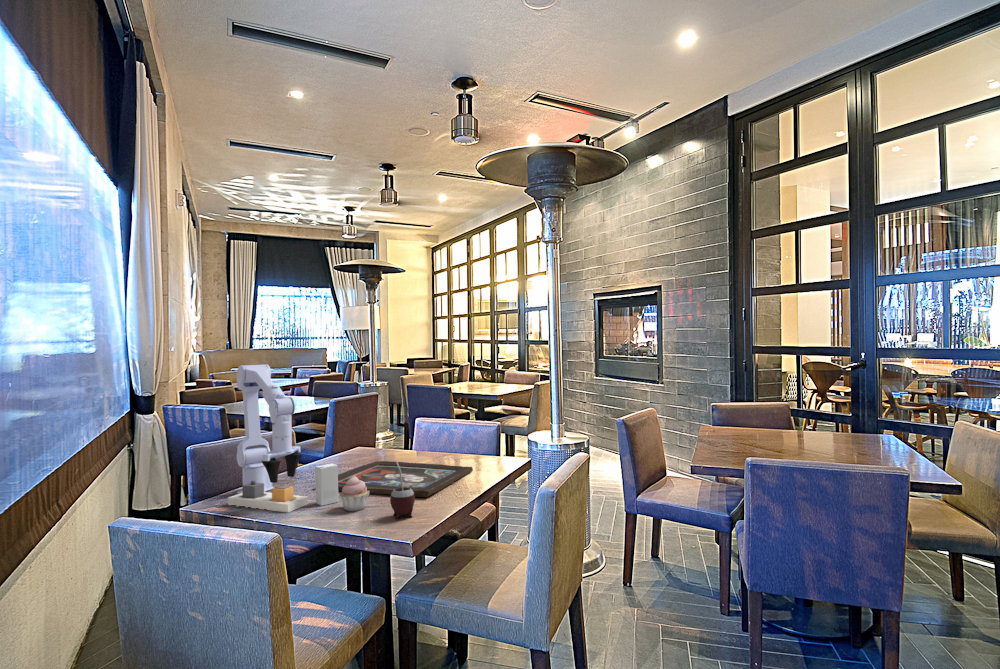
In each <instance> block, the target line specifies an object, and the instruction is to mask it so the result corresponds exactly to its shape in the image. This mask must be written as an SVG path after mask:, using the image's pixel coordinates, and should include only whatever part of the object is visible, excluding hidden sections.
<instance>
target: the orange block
mask: <svg viewBox="0 0 1000 669" xmlns="http://www.w3.org/2000/svg"><path fill="white" fill-rule="evenodd" d="M271 493H272V501H277V502H287V501H289V500H291V499H294V495H295V494H294V486H291V485H284V484H283V485H282V484H280V485H277V486H275V487H274V488H272V489H271Z"/></svg>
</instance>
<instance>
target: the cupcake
mask: <svg viewBox="0 0 1000 669" xmlns="http://www.w3.org/2000/svg"><path fill="white" fill-rule="evenodd" d="M369 495H370V493H369V491H367V487H366V485H365V483H364V482H363V481H361V480H359V479H358V478H357V477H355V476H353V477H352V478H350V479H349V480H348V481H347V482H346V485H345V486H344V487H343V489H342V491H341V492H340V493H339V492H338V497H339V498H340V499H341V502H342V505H343V506H342V507H343V509H344V510H345V511H347V512H359V511H361V510H364V509H365V507H366V505H367V501H368V498H369Z"/></svg>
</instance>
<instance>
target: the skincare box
mask: <svg viewBox="0 0 1000 669" xmlns="http://www.w3.org/2000/svg"><path fill="white" fill-rule="evenodd" d="M338 467H339V465H337V464H335V463H332V462H331V463H327V464H322V465H315V466H314V474H315V475H314V476H315V478H314V480H315V481H314V482H315V483H314V484H315V503H316V504H317V505H319V506H326V505H327V506H328V505H331V504H335V503H339V491H338V475H339V468H338Z"/></svg>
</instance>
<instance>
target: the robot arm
mask: <svg viewBox="0 0 1000 669" xmlns="http://www.w3.org/2000/svg"><path fill="white" fill-rule="evenodd" d="M235 375H236V385H237V386H236V387H237V390H239V391H241V392H242V400H243V401H242V405H243V417H244V431H245V432H244V434H245V438H244V439H243V440H242V441H240V442H239V444H237V447H236V448H237V451H236V463H237V465H238V467H240V468H242V485H245V484H248V483H251V481H256V483H264V492H268V491H272V488H275V487H274V486H273V484H275V483H276V484H277V483H278V480H279V479H278V478H279V467H280V465H281V460H277V459H278V458H281V457H284V460H285V464H286V474H287V477H289V478H290V477H291V478H294V477H295V474H296V470H297V467H298V464H299V462H300V460H301V458H302V453H301V450H302V449H301V445H293V442H292V440H293V438H292V437H293V435H292V433H293V432H292V430H293V429H292V428H293V427H292V425H293V424H292V423H293V422H292V420H293V419H292V416H293V415H294V414H295V412H296V411H295V410H296V405H295V404H296V403H295V400H294V398H293V397H292V396H286V395H285V392H284V391H283V390H282V389H281V387H280V386H279V385H277V384H274V383H273V380H272V377H271V376H272V369H271V367H270V366H269V364H266V363H265V364H246V365H245V364H244V365H243V364H241V365H239V366H238V367H237V369H236V374H235ZM260 390H262V397H263V399H264V400H265V402H266V403H267V406H268V412H269V416H270V418H269V419H270V422H271V424H272V425H271V426H272V427H271V429H272V430H271V431H272V433H271V436H272V437H271V438H272V439H271V440H272V441H271V442H272V443H271V444H272V445H271V446H272V447H271V448H272V450H271V449H270V444H269V441H268V440H266V438H264V437H262V435H261V433H262V432H261V421H260V405H259V404H260V403H259V391H260ZM240 493H243V491H242V490H239V491H236V494H240Z"/></svg>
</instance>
